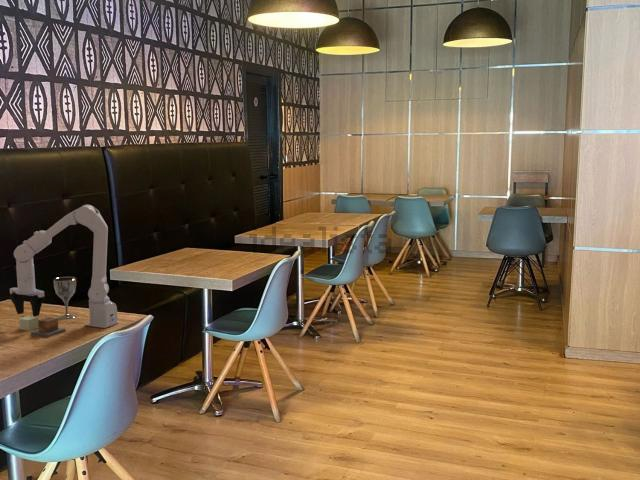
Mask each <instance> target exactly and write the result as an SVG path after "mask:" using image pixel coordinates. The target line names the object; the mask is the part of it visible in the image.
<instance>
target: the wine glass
mask: <svg viewBox="0 0 640 480" xmlns="http://www.w3.org/2000/svg"><path fill="white" fill-rule="evenodd" d="M53 288H54V290H55V294H56V295H57V297H59V298H60V299H61V300H62V302H63V303H64V308H65V314H62V315H58V316H57V317H56V318H58V320H71V319H75V318H77V317H78V315H77V314H74V313H72V314H70V313H69V309H68V308H69V301H70V300H71V298H72V297H73V296H74V294H75V293H76V288H77V278H76V277H75V276H60V277H55V278H54V279H53Z"/></svg>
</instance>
